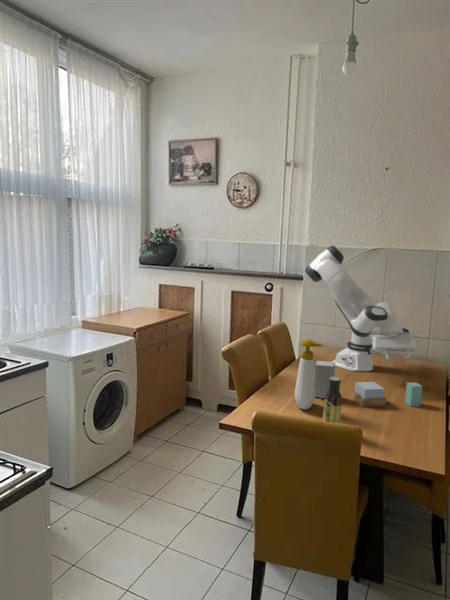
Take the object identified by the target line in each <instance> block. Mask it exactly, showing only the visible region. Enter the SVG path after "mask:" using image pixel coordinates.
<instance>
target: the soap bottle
mask: <svg viewBox="0 0 450 600" xmlns="http://www.w3.org/2000/svg"><path fill="white" fill-rule="evenodd" d="M299 345H300V346H301V347H302V346H303V347H305V350H303V351H301V355H300V359H299V364H298V370H297V377H296V382H295V388H294V399H295V403H296V406H297V407H298V408H300V409H301V410H309V409H310V408H311V407H312V405H313V403H314V401H315V359H314V352H313V351H312V350H310V349H311V348H312V347H313V348H315V347H321V348H322V347H323V346H324V343H321V342H316V341H314V340H313V339H310V338H305V339H303V340H301V342H300V344H299Z"/></svg>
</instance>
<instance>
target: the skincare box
mask: <svg viewBox="0 0 450 600" xmlns="http://www.w3.org/2000/svg"><path fill="white" fill-rule="evenodd" d="M335 370H336V366H335V362H332V361H324V360H316V362H315V363H314V379H315V397H321V398H320V399H324V398H325V396H326V394H327V391H328V389H329V383H330V382H329V378H330V377H335Z"/></svg>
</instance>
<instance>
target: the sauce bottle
mask: <svg viewBox="0 0 450 600" xmlns="http://www.w3.org/2000/svg"><path fill="white" fill-rule="evenodd" d="M329 382H330V383H329V389H328V391H327V394H326V396H325V399H324V398H323V400H324V401H323V411H322V412H323V413H322V421H326V422H333V423H340V422H341V415H342V413H341V412H342V394H341V392H340V386H341V382H342V380H341V378H340V377H337V376H334V377H330V378H329Z"/></svg>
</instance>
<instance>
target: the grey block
mask: <svg viewBox="0 0 450 600" xmlns="http://www.w3.org/2000/svg"><path fill="white" fill-rule="evenodd" d="M385 389H386V388H384V387H382V385H380V384H378V383H377V382H375V381H362V382H361V381H359V382H355V386H354V390H355V392H357V393H358V394H359V395H361V396H362V397H363V398H364V399H367V398H384V397H385V392H386V390H385Z"/></svg>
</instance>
